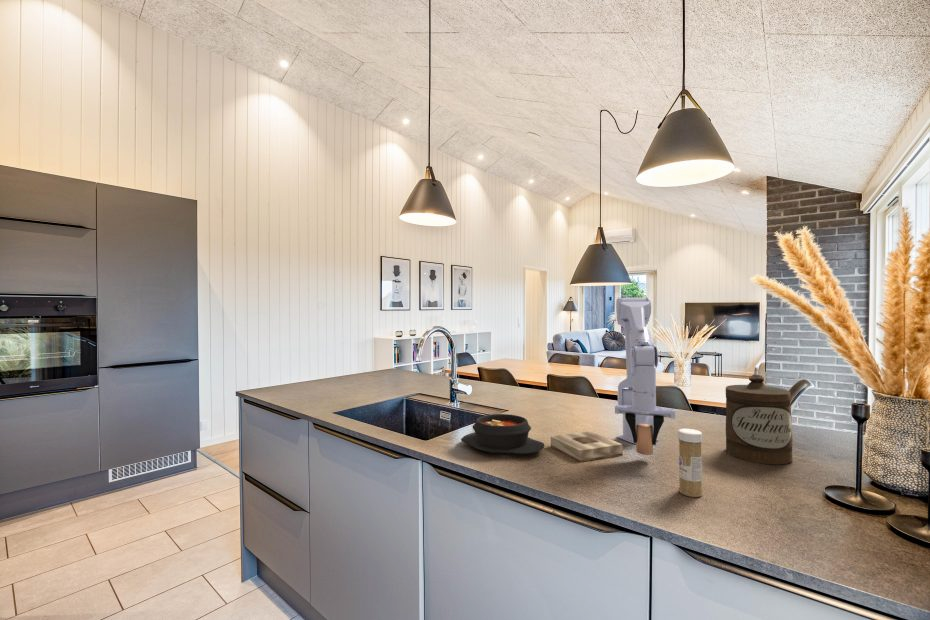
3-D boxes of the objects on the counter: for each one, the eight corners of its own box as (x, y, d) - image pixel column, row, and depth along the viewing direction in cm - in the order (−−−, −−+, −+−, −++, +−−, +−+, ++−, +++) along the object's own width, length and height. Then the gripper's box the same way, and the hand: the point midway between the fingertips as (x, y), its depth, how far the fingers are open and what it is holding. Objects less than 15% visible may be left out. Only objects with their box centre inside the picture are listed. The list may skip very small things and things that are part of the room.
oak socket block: (589, 441, 127) (589, 431, 127) (622, 455, 114) (622, 444, 114) (550, 446, 122) (550, 436, 122) (580, 461, 109) (580, 450, 109)
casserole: (554, 447, 122) (554, 418, 122) (527, 466, 106) (526, 433, 106) (481, 434, 136) (481, 408, 136) (448, 449, 120) (447, 420, 120)
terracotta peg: (644, 449, 112) (644, 423, 112) (656, 453, 108) (656, 426, 108) (633, 451, 111) (632, 424, 111) (644, 455, 107) (644, 428, 107)
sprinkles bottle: (674, 489, 92) (673, 428, 92) (693, 488, 92) (693, 427, 92) (687, 498, 87) (686, 434, 87) (708, 497, 87) (707, 433, 88)
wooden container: (736, 462, 109) (734, 377, 109) (719, 445, 123) (718, 370, 123) (803, 467, 104) (802, 379, 105) (778, 449, 118) (777, 372, 119)
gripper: (613, 392, 109) (614, 444, 109) (675, 396, 103) (676, 451, 103) (615, 387, 115) (616, 436, 115) (674, 391, 110) (674, 442, 109)
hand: (644, 443), depth 110 cm, fingers closed on terracotta peg, 4 cm apart
